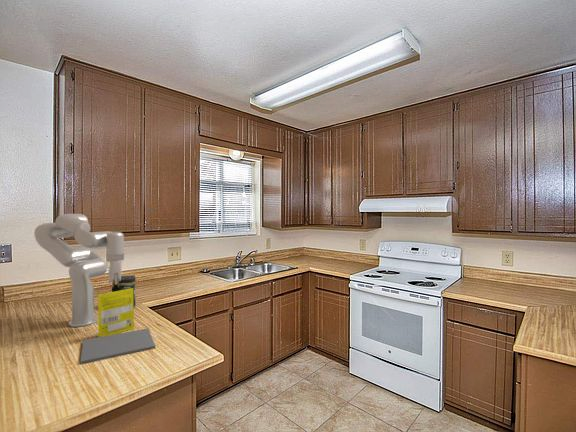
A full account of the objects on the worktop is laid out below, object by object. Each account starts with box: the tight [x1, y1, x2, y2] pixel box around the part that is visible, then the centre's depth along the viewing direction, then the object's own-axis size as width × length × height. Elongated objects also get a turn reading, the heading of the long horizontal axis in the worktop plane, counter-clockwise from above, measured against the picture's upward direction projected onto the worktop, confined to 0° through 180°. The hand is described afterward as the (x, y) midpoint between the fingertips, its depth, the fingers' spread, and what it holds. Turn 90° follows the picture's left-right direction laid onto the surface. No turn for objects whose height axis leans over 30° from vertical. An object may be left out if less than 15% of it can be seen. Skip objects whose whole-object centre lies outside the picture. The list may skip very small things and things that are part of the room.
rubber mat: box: [80, 328, 156, 365], centre depth 132 cm, size 22×26×1 cm
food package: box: [97, 288, 135, 337], centre depth 144 cm, size 15×1×20 cm, turn 141°
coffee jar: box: [119, 274, 137, 307], centre depth 183 cm, size 10×8×19 cm
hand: (115, 294), depth 151 cm, fingers closed
